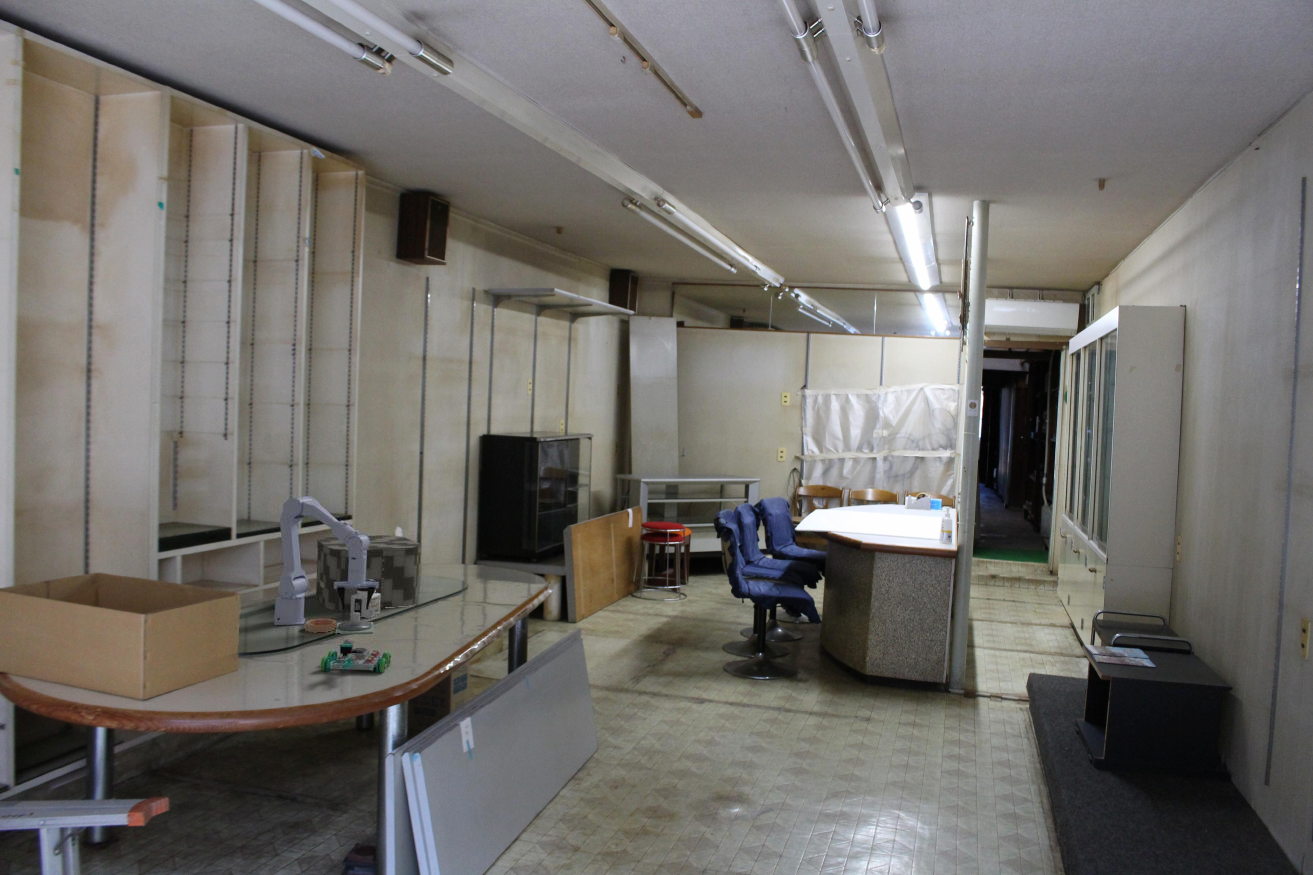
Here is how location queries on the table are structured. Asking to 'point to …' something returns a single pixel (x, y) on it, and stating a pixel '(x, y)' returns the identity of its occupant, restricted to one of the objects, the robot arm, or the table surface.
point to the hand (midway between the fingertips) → (355, 609)
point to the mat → (354, 631)
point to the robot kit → (355, 658)
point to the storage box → (370, 570)
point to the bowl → (320, 625)
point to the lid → (355, 624)
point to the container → (365, 602)
